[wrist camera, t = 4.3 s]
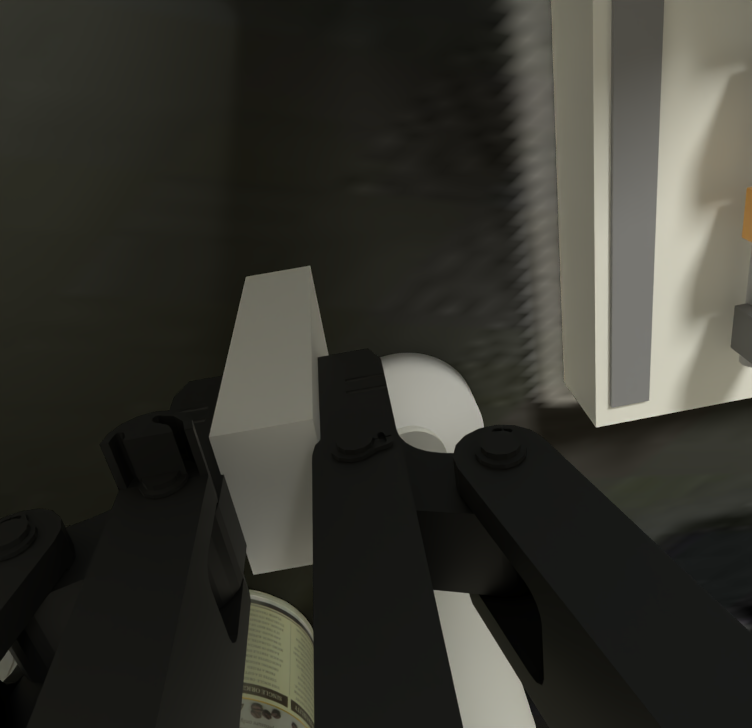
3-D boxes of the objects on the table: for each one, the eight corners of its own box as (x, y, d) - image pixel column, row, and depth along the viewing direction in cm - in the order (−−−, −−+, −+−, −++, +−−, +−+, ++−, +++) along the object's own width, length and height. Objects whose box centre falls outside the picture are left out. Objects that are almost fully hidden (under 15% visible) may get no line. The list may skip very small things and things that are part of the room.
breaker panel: (543, -196, 21) (593, -241, 18) (905, -264, 21) (1030, -323, 18) (563, 382, 32) (597, 430, 28) (807, 335, 32) (873, 377, 28)
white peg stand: (354, 336, 30) (521, 1419, 7) (496, 372, 31) (1020, 1351, 8) (313, 460, 33) (330, 1510, 10) (444, 487, 34) (726, 1445, 11)
